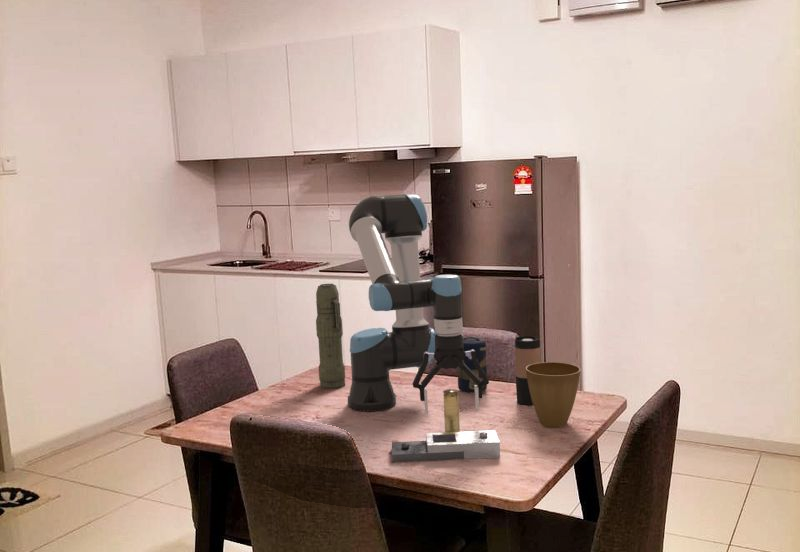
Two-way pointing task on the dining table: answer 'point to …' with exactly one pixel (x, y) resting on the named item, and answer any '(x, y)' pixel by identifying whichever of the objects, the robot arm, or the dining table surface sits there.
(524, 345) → the travel mug
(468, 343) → the canister
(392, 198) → the robot arm
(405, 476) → the dining table surface
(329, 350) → the thermos
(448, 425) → the pin
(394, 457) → the door bolt
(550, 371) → the plant pot
